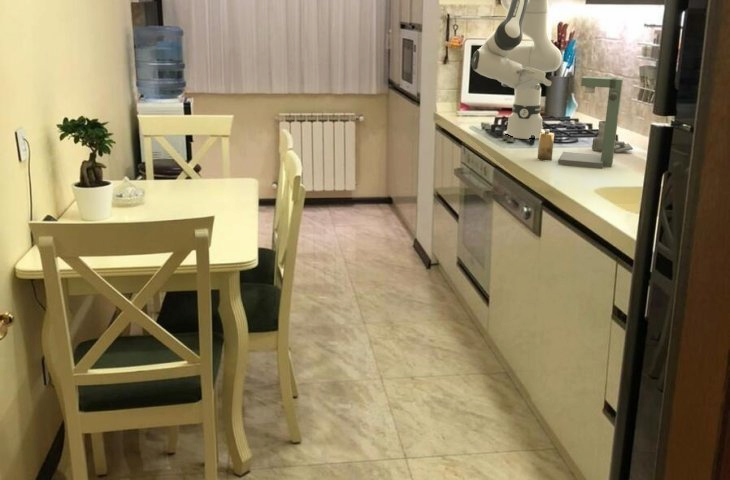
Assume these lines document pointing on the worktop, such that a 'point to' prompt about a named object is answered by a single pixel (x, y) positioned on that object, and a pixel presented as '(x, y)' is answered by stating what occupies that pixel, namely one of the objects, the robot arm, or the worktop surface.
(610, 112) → the press
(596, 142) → the camera
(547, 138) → the tan upright block
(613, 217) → the worktop surface
